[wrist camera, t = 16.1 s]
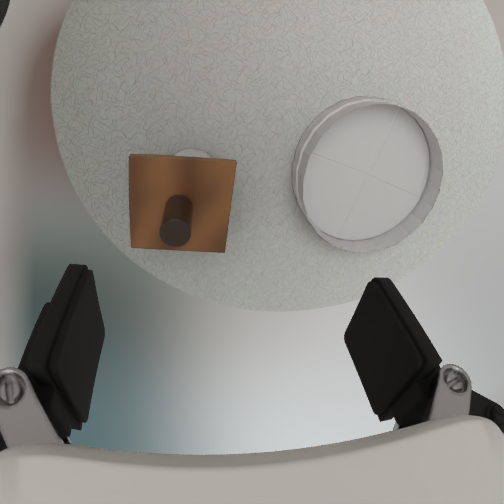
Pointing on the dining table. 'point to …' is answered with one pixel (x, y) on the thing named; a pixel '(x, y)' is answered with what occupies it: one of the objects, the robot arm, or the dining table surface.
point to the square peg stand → (180, 202)
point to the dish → (366, 173)
